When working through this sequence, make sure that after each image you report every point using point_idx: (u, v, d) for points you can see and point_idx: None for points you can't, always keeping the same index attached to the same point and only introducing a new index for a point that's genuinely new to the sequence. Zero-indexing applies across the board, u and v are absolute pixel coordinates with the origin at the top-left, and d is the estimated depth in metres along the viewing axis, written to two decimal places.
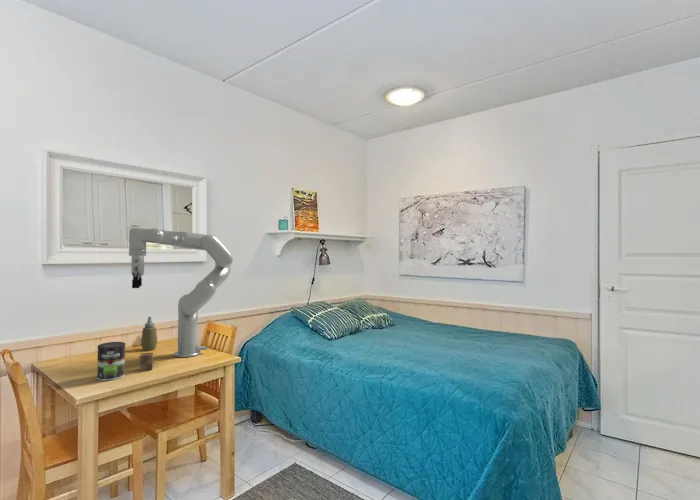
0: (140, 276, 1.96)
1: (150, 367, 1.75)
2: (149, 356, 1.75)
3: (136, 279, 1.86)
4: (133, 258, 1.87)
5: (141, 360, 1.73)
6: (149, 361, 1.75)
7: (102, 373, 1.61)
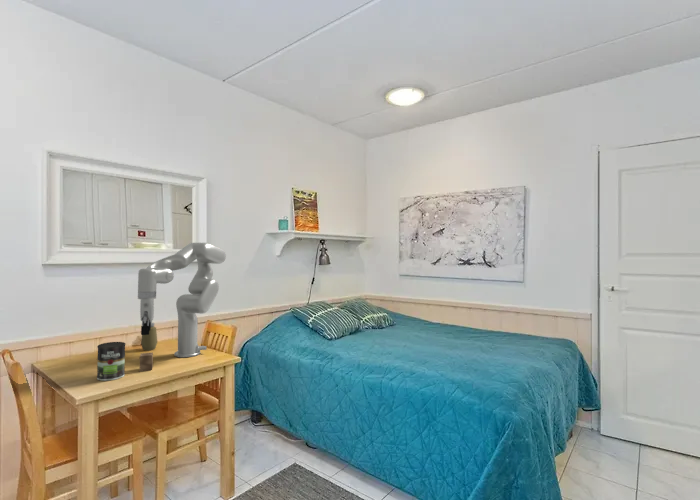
0: (149, 320, 1.81)
1: (150, 367, 1.75)
2: (149, 356, 1.75)
3: (146, 325, 1.71)
4: (142, 302, 1.72)
5: (141, 360, 1.73)
6: (149, 361, 1.75)
7: (102, 373, 1.61)
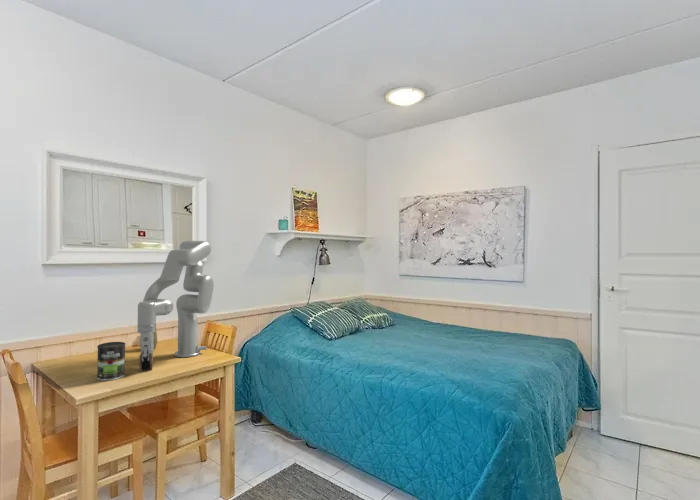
0: None
1: (150, 367, 1.75)
2: (149, 356, 1.75)
3: (146, 361, 1.73)
4: (142, 336, 1.72)
5: (141, 360, 1.73)
6: None
7: (102, 373, 1.61)
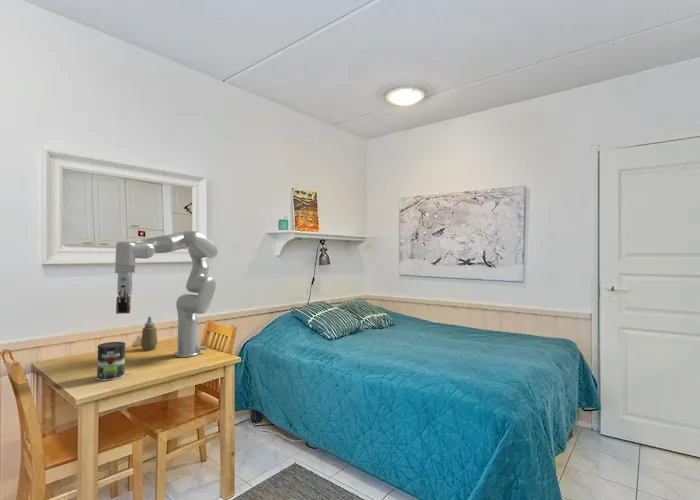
0: None
1: (127, 310, 1.67)
2: None
3: (123, 302, 1.65)
4: (120, 276, 1.65)
5: (118, 302, 1.66)
6: None
7: (102, 373, 1.61)
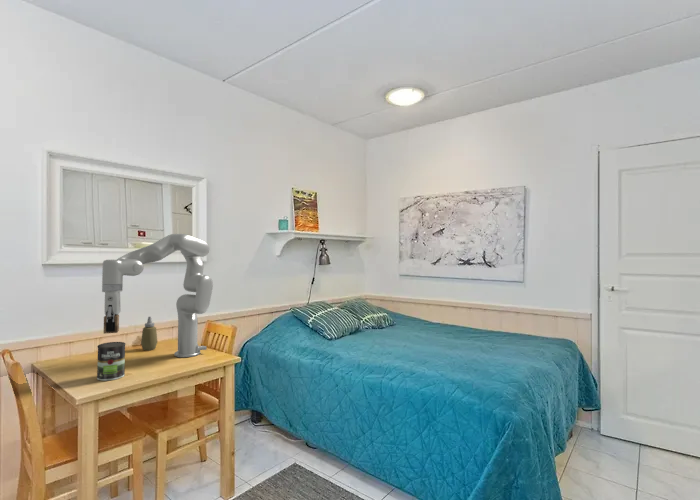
0: None
1: (115, 329, 1.64)
2: None
3: (111, 322, 1.62)
4: (107, 295, 1.61)
5: (105, 321, 1.62)
6: None
7: (102, 373, 1.61)
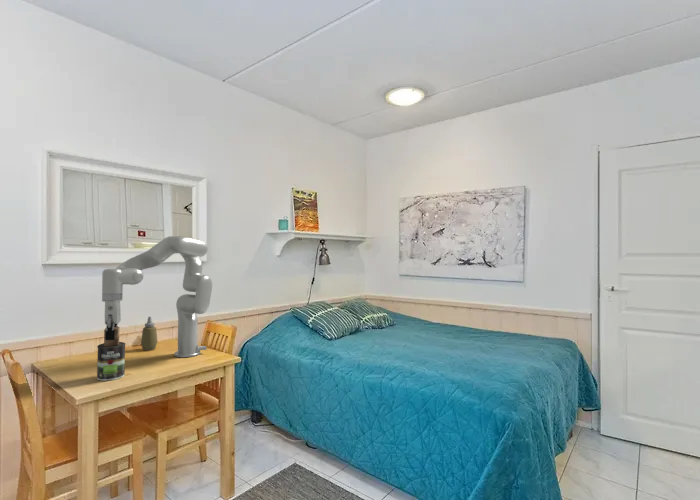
0: (116, 324, 1.70)
1: (116, 342, 1.64)
2: (115, 330, 1.64)
3: (110, 330, 1.60)
4: (107, 305, 1.61)
5: None
6: (115, 335, 1.64)
7: (102, 373, 1.61)
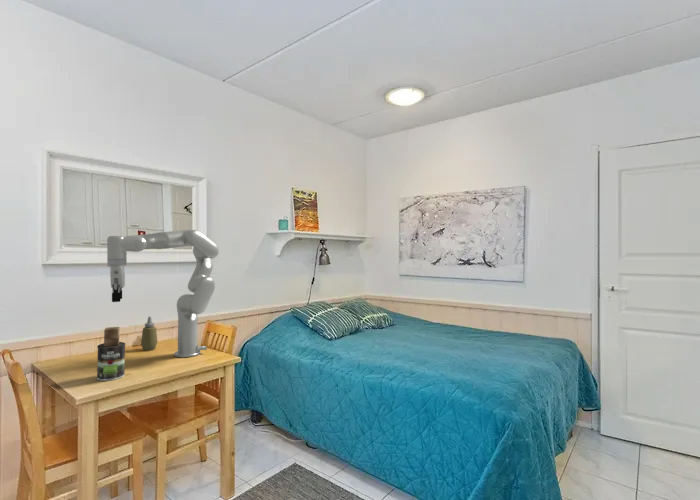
0: (120, 288, 1.79)
1: (116, 342, 1.64)
2: (115, 330, 1.64)
3: (116, 292, 1.70)
4: (112, 269, 1.70)
5: (106, 334, 1.63)
6: (115, 335, 1.64)
7: (102, 373, 1.61)
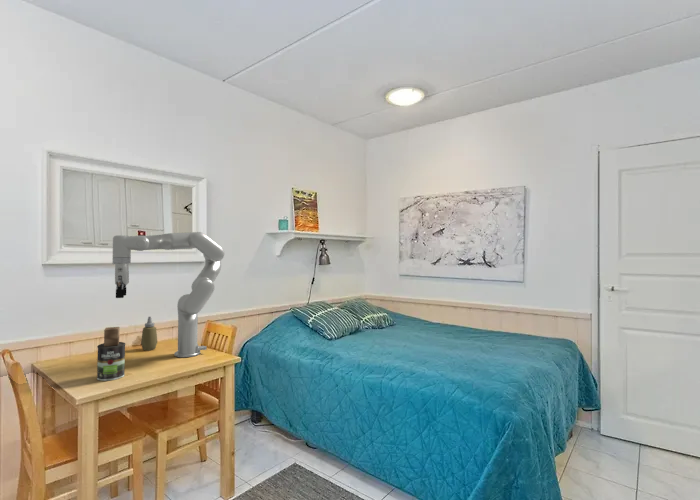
0: (125, 285, 1.89)
1: (116, 342, 1.64)
2: (115, 330, 1.64)
3: (120, 289, 1.79)
4: (117, 267, 1.80)
5: (106, 334, 1.63)
6: (115, 335, 1.64)
7: (102, 373, 1.61)
